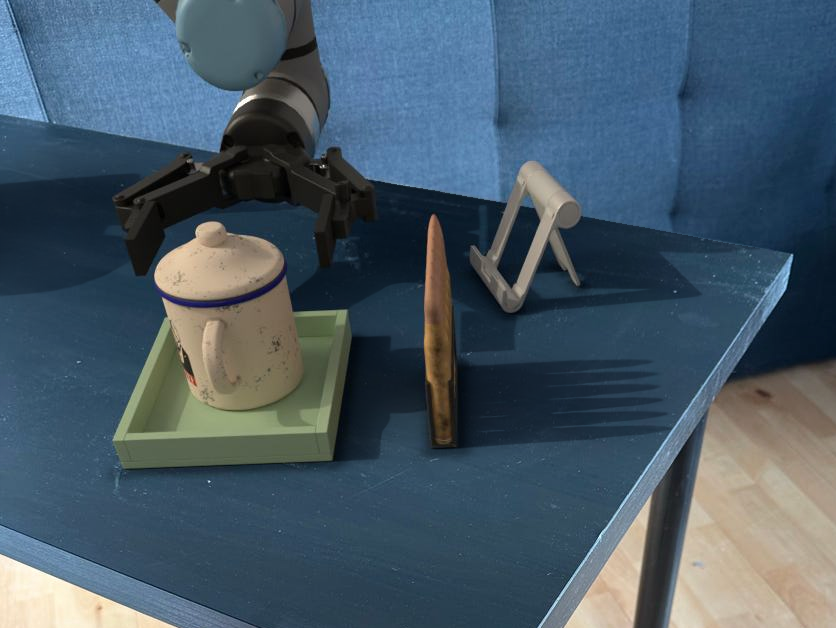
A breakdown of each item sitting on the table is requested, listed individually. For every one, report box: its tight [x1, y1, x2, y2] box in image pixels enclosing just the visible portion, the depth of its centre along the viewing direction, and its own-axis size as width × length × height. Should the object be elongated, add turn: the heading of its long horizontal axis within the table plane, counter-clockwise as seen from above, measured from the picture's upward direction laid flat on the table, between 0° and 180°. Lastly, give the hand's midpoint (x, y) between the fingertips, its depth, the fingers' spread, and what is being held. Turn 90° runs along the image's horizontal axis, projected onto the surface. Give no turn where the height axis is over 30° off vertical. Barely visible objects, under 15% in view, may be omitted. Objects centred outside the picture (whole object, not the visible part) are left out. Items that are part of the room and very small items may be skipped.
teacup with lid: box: [153, 221, 304, 410], centre depth 65 cm, size 12×9×12 cm
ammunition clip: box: [423, 213, 459, 449], centre depth 64 cm, size 11×2×12 cm, turn 1°
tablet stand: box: [469, 160, 582, 314], centre depth 78 cm, size 9×8×8 cm
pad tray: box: [112, 309, 353, 470], centre depth 69 cm, size 15×17×2 cm
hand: (228, 254), depth 67 cm, fingers open, 13 cm apart
